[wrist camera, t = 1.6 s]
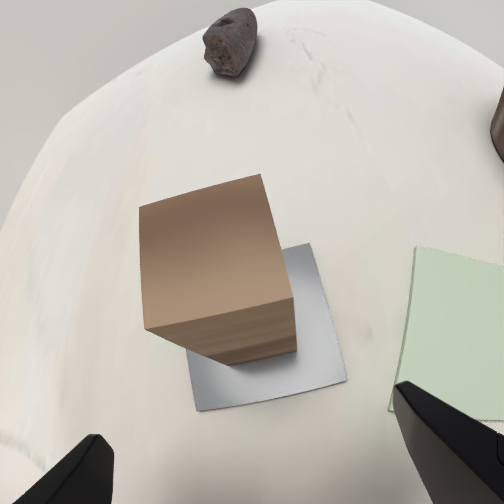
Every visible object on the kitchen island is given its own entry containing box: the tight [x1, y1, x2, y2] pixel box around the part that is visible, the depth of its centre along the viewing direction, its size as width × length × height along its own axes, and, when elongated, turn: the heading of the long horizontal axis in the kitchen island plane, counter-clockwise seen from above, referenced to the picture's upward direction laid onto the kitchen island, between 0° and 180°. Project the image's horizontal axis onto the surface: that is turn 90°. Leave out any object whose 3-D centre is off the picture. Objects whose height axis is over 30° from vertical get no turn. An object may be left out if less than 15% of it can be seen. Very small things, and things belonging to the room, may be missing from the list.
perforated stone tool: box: [203, 8, 257, 77], centre depth 33 cm, size 15×5×7 cm, turn 165°
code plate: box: [186, 243, 348, 411], centre depth 21 cm, size 10×10×1 cm
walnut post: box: [139, 174, 297, 366], centre depth 16 cm, size 5×5×12 cm
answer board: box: [388, 245, 504, 420], centre depth 18 cm, size 12×12×1 cm
